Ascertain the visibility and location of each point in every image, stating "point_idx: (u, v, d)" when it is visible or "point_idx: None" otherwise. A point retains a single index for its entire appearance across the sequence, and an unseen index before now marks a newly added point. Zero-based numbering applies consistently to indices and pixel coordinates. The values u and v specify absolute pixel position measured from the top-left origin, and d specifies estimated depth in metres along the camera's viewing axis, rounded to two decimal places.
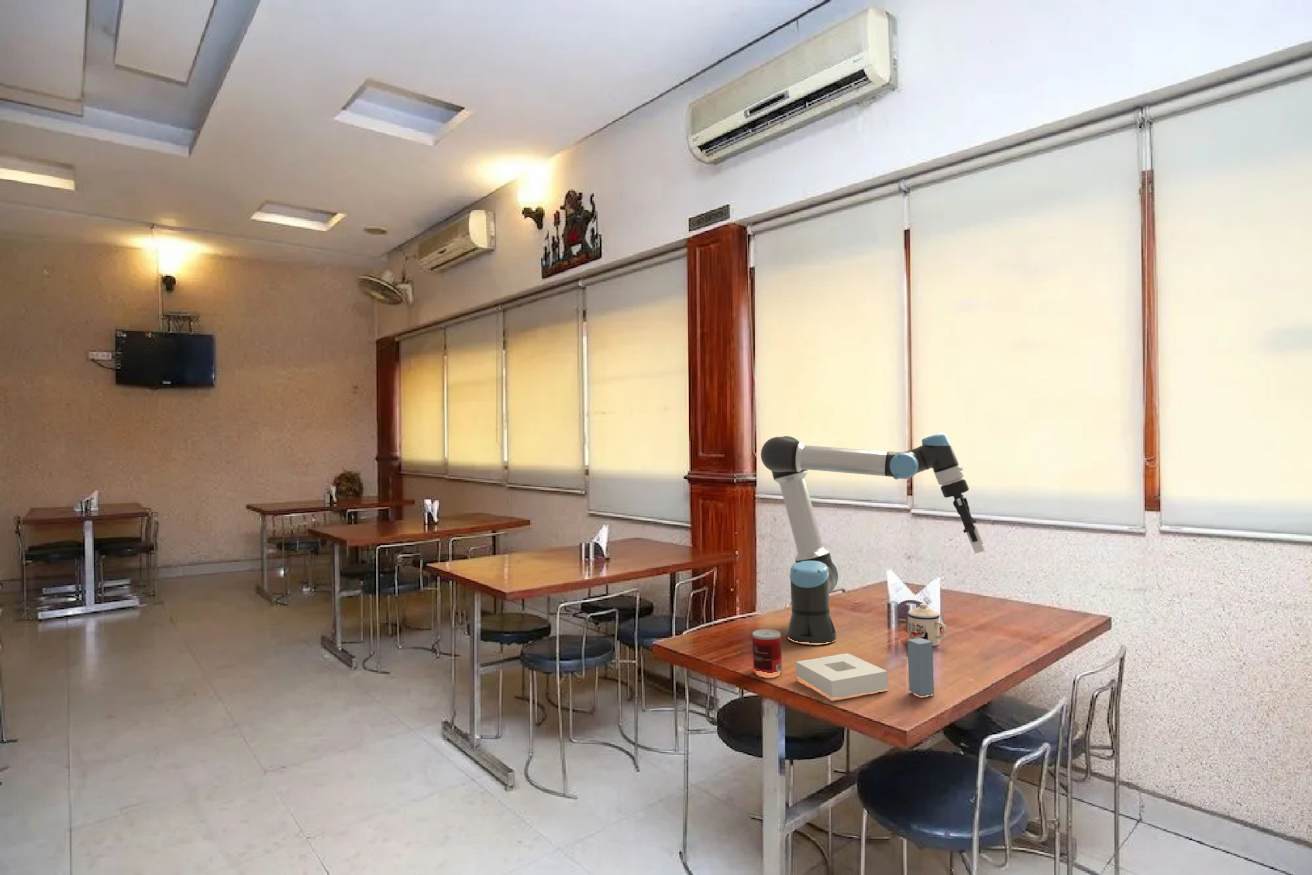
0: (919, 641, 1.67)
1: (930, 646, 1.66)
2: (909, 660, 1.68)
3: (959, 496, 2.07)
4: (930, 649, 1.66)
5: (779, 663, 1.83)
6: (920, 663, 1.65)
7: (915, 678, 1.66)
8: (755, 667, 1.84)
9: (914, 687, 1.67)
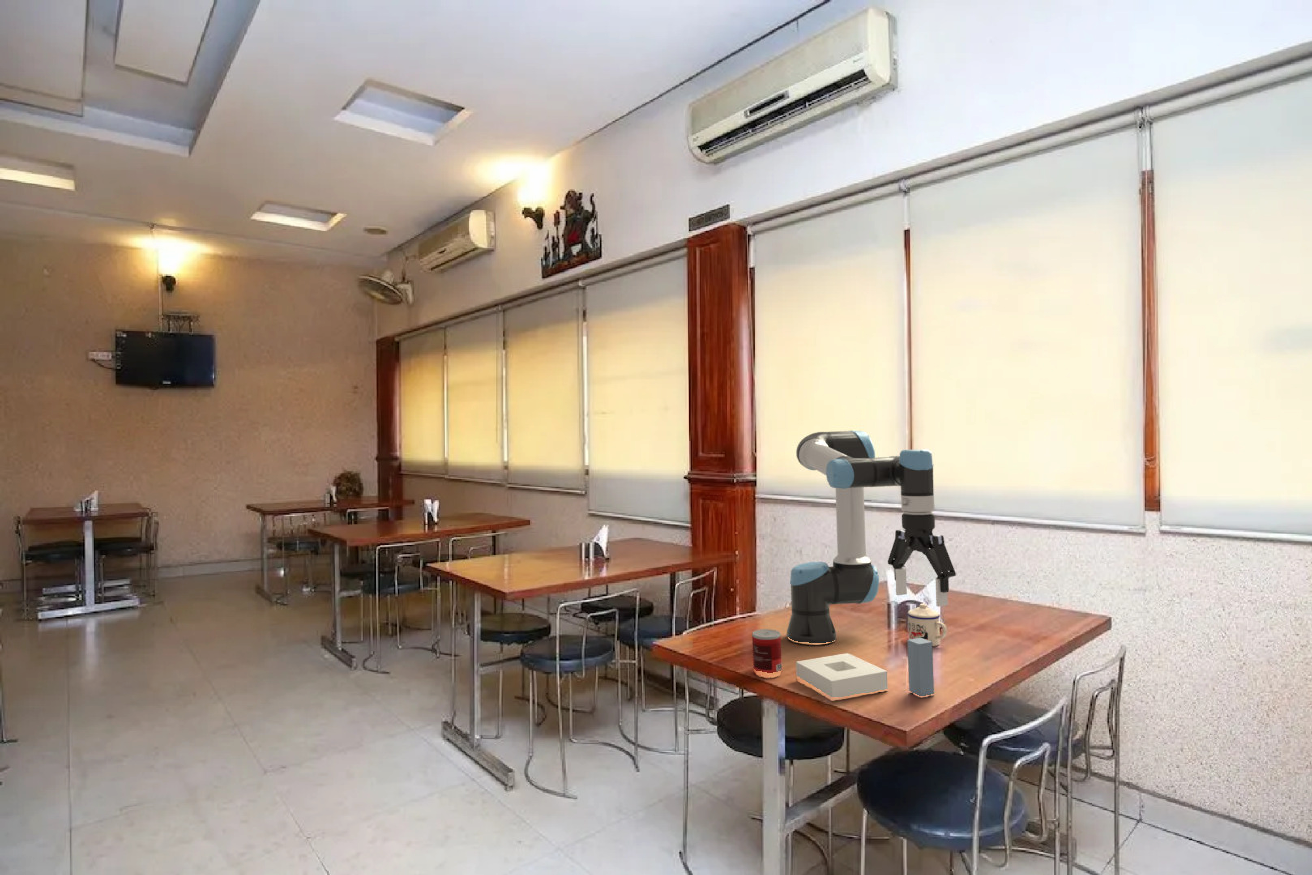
0: (919, 641, 1.67)
1: (930, 646, 1.66)
2: (909, 660, 1.68)
3: None
4: (930, 649, 1.66)
5: (779, 663, 1.83)
6: (920, 663, 1.65)
7: (915, 678, 1.66)
8: (755, 667, 1.84)
9: (914, 687, 1.67)
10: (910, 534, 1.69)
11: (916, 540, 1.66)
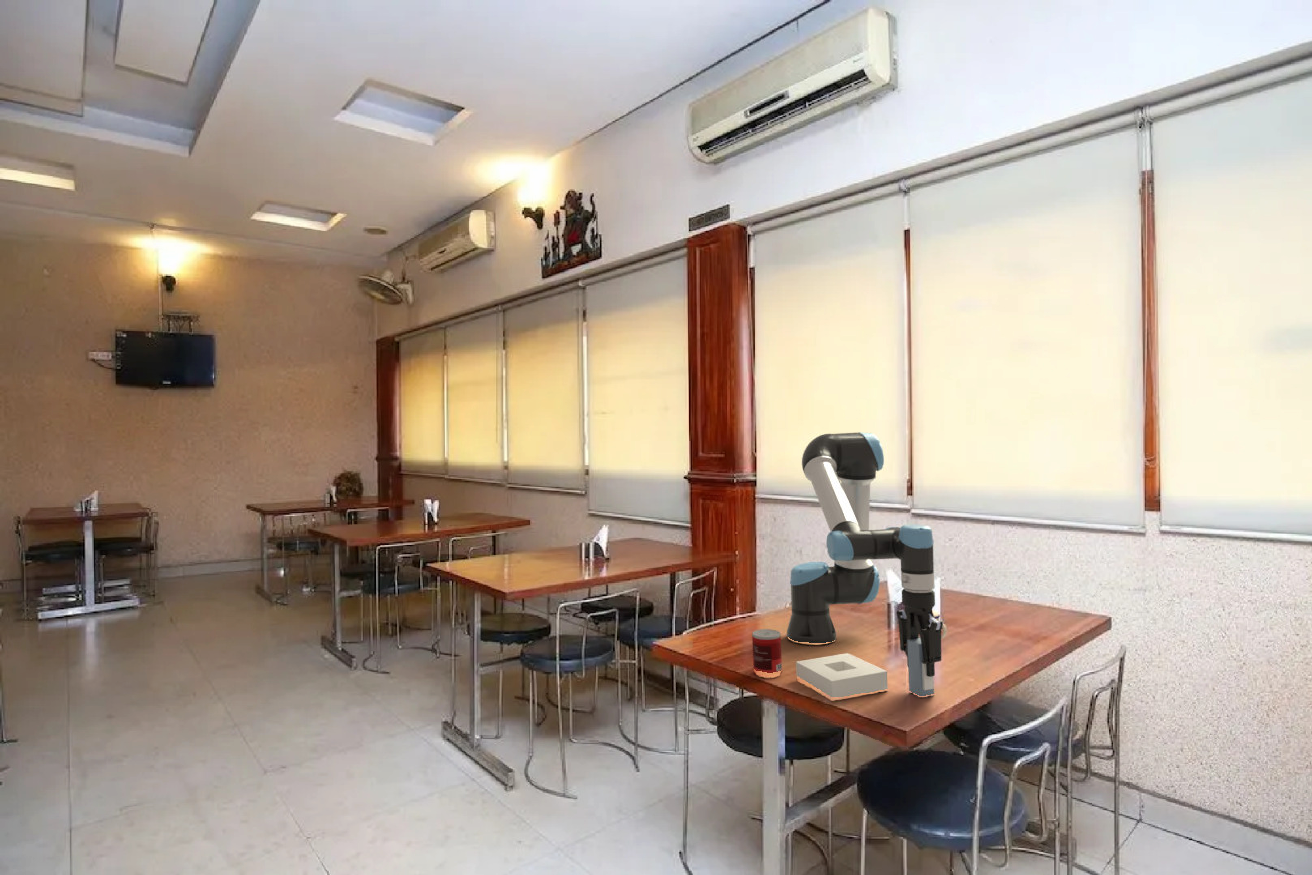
0: (919, 641, 1.67)
1: None
2: (909, 660, 1.68)
3: None
4: None
5: (779, 663, 1.83)
6: (920, 663, 1.65)
7: (915, 678, 1.66)
8: (755, 667, 1.84)
9: (914, 687, 1.67)
10: (909, 607, 1.69)
11: (916, 618, 1.66)
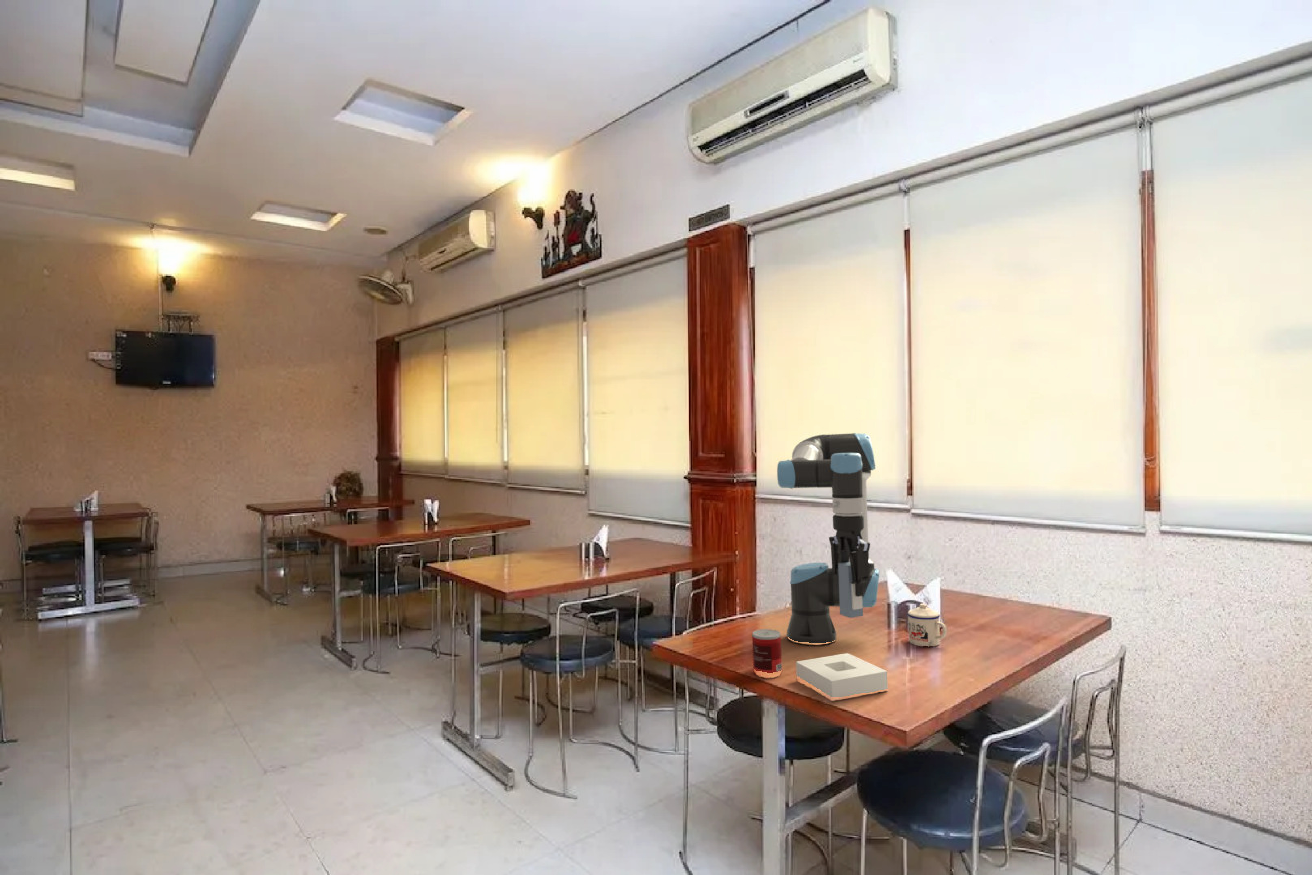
0: (849, 563, 1.73)
1: None
2: (840, 582, 1.74)
3: None
4: None
5: (779, 663, 1.83)
6: (850, 584, 1.71)
7: (845, 599, 1.73)
8: (755, 667, 1.84)
9: (844, 607, 1.73)
10: (840, 532, 1.75)
11: (845, 541, 1.72)
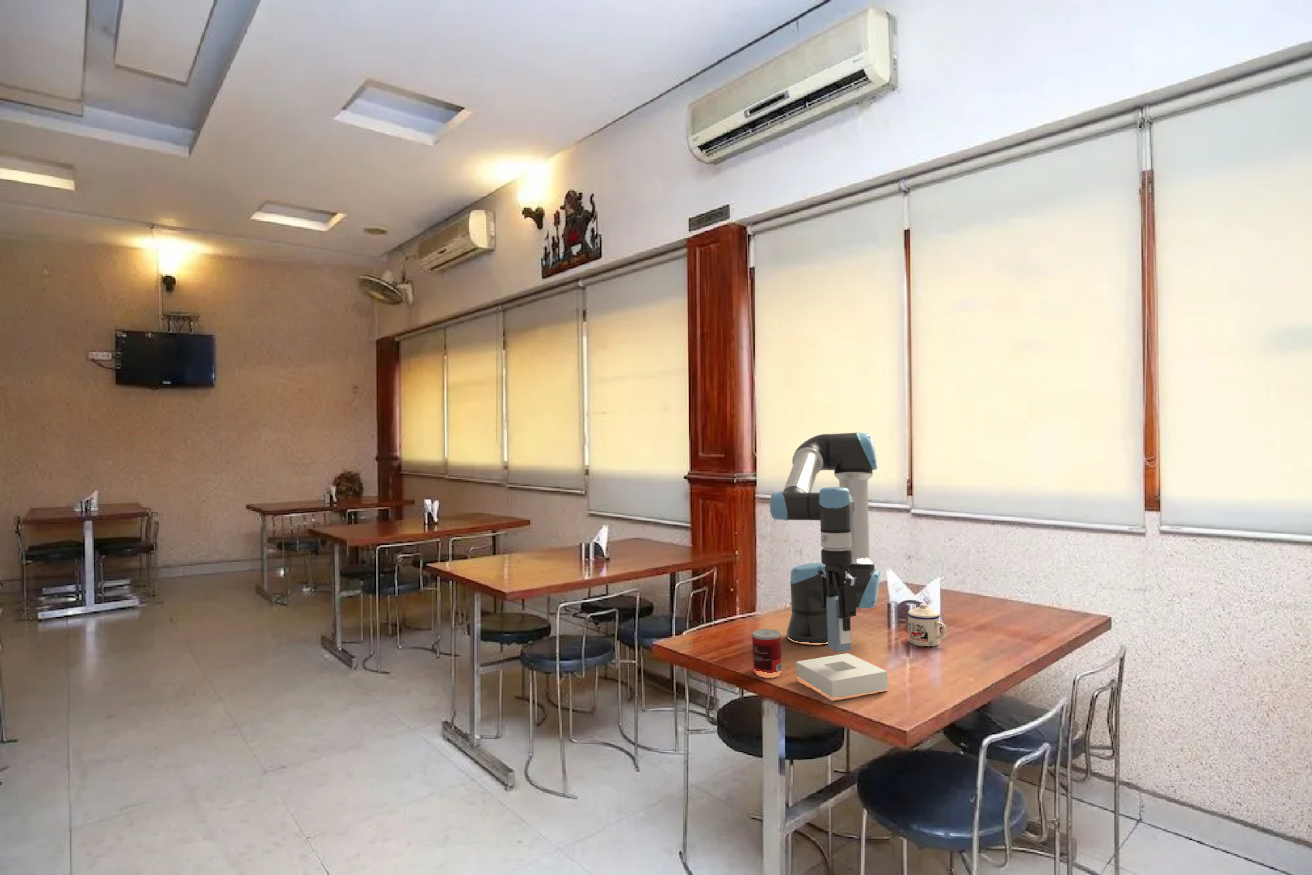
0: (837, 598, 1.74)
1: None
2: (828, 616, 1.75)
3: None
4: None
5: (779, 663, 1.83)
6: (837, 619, 1.72)
7: (833, 633, 1.73)
8: (755, 667, 1.84)
9: (832, 642, 1.74)
10: (828, 566, 1.76)
11: (833, 575, 1.73)
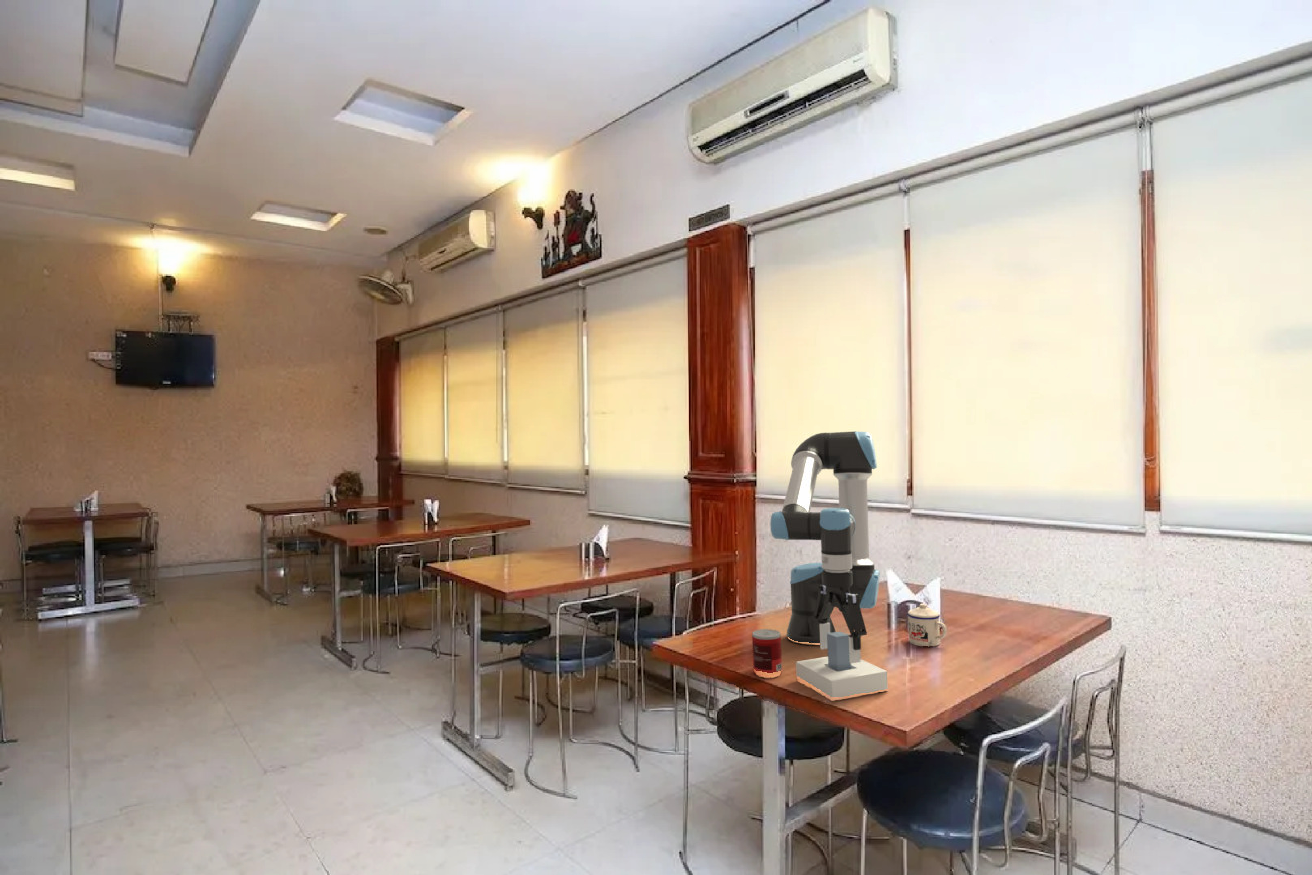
0: (837, 634, 1.75)
1: (847, 639, 1.74)
2: (828, 653, 1.76)
3: None
4: (847, 642, 1.74)
5: (779, 663, 1.83)
6: (838, 655, 1.73)
7: None
8: (755, 667, 1.84)
9: None
10: (830, 589, 1.76)
11: (834, 597, 1.73)
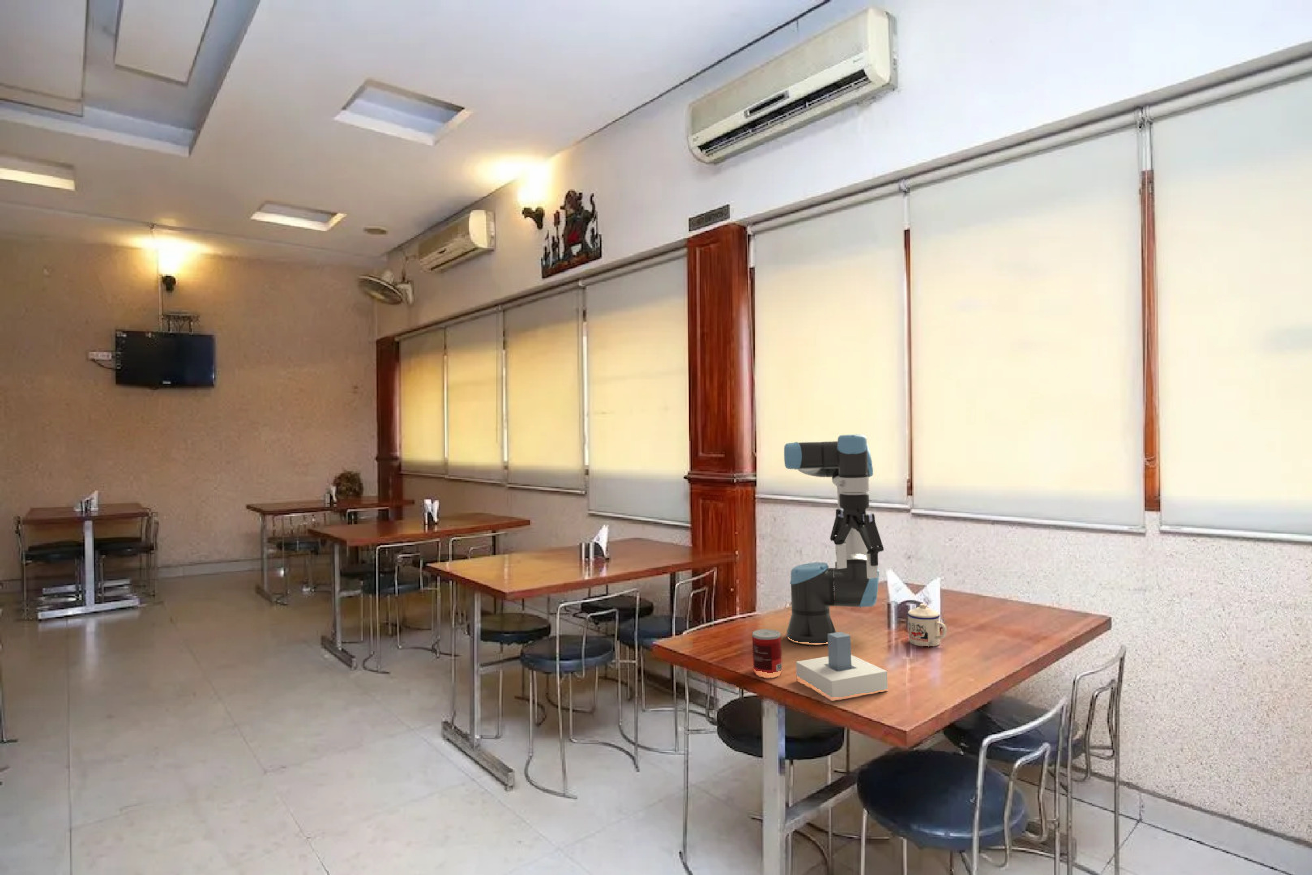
0: (838, 635, 1.74)
1: (848, 640, 1.73)
2: (829, 653, 1.75)
3: None
4: (848, 642, 1.73)
5: (779, 663, 1.83)
6: (838, 656, 1.72)
7: None
8: (755, 667, 1.84)
9: None
10: (847, 513, 1.83)
11: (851, 518, 1.80)
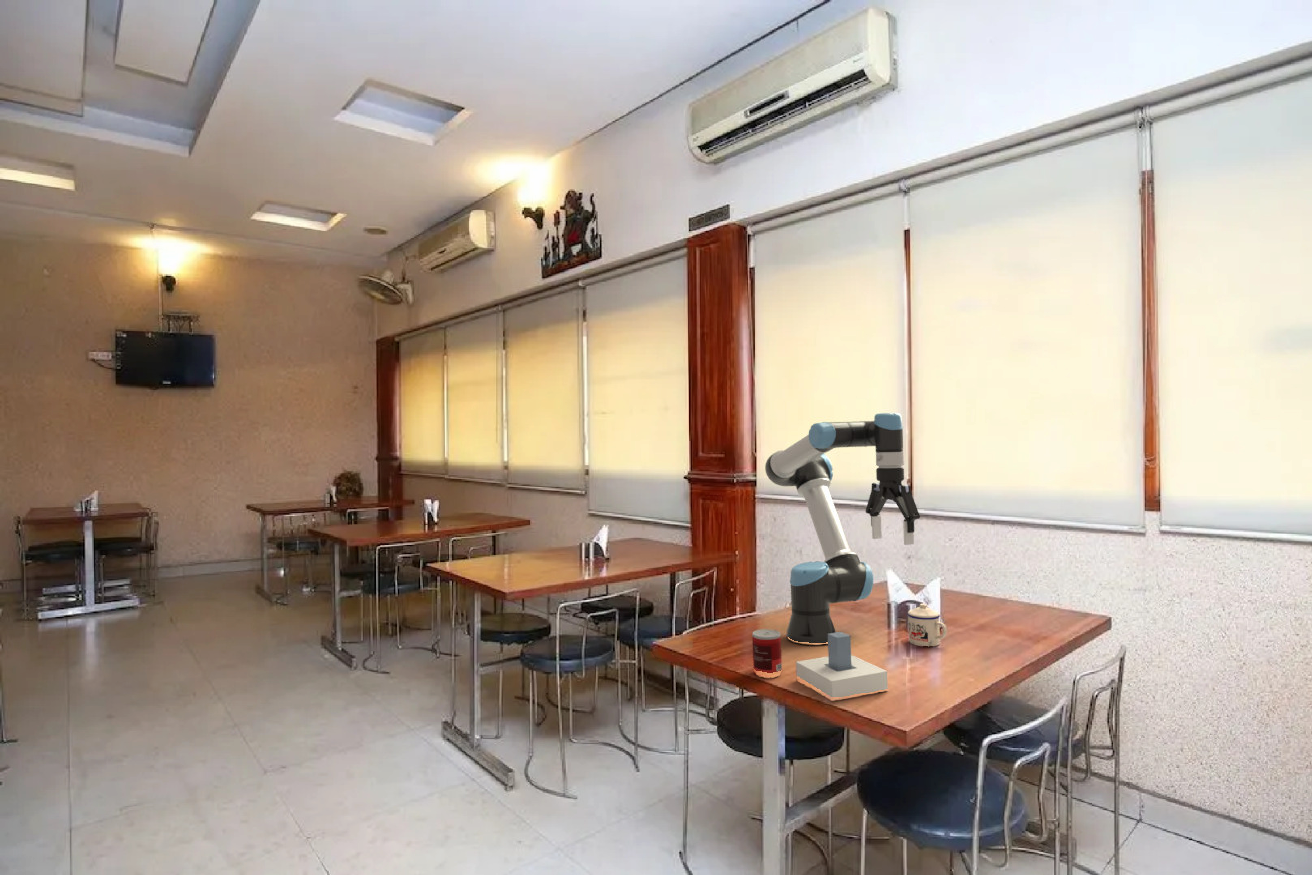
0: (838, 635, 1.74)
1: (848, 640, 1.73)
2: (829, 653, 1.75)
3: None
4: (848, 643, 1.73)
5: (779, 663, 1.83)
6: (838, 656, 1.72)
7: None
8: (755, 667, 1.84)
9: None
10: (883, 485, 1.98)
11: (888, 490, 1.95)
